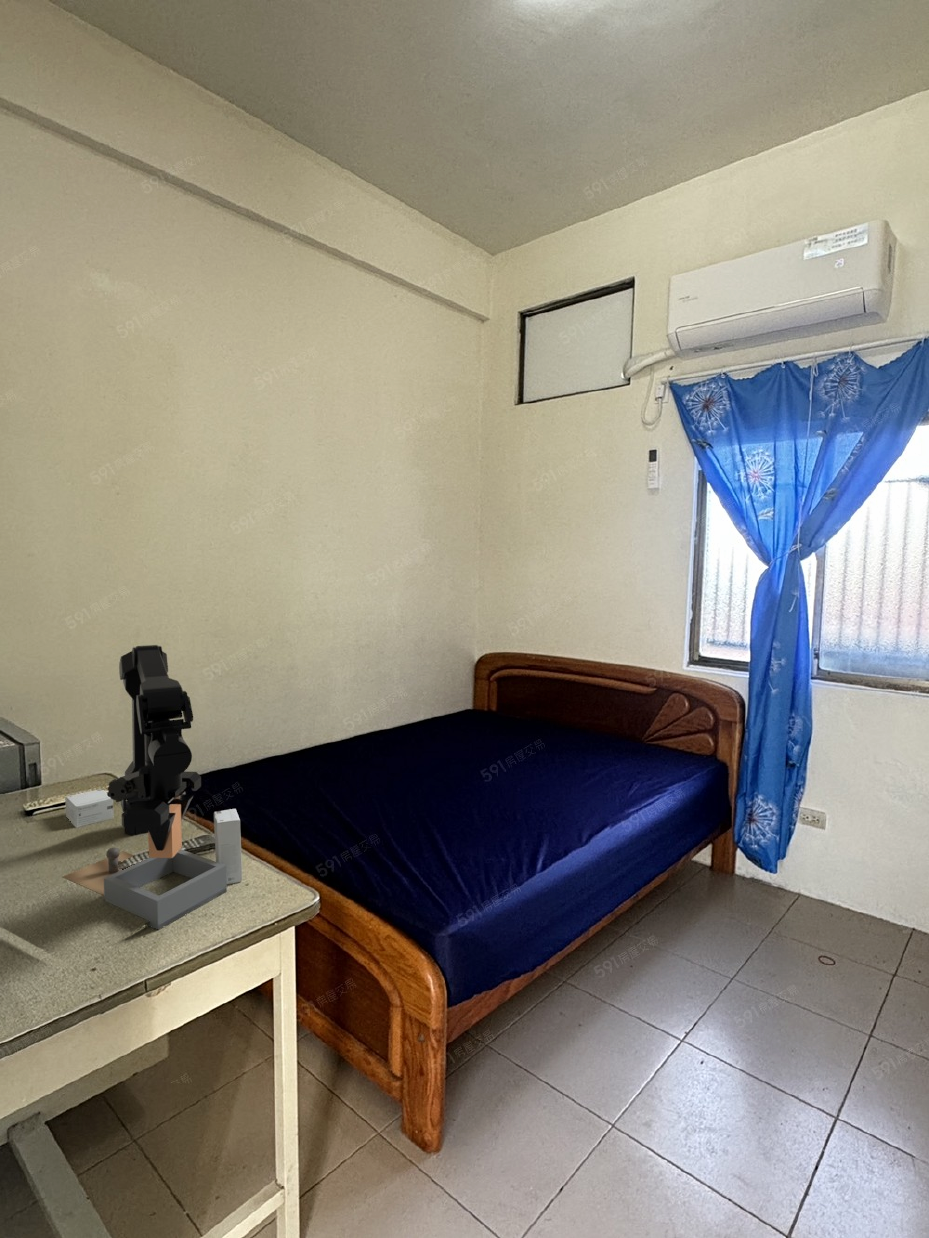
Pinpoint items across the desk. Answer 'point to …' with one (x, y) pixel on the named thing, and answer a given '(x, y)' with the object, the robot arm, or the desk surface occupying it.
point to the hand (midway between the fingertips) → (165, 844)
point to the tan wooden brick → (169, 837)
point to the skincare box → (228, 843)
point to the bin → (172, 903)
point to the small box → (89, 807)
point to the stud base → (99, 871)
